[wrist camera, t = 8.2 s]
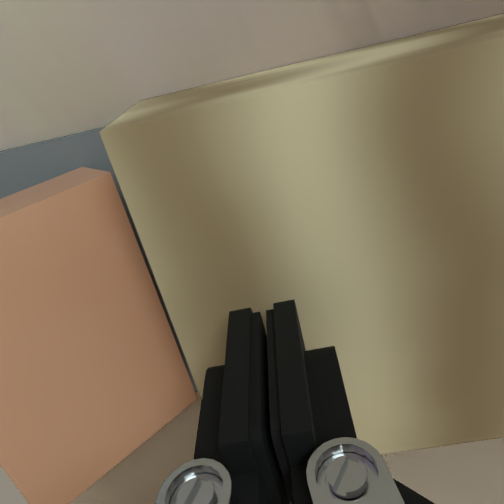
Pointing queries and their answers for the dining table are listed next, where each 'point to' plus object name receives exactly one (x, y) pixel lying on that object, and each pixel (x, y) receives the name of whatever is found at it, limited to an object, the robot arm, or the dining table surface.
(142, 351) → the tile
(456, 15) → the dining table surface
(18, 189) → the mat
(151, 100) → the board
